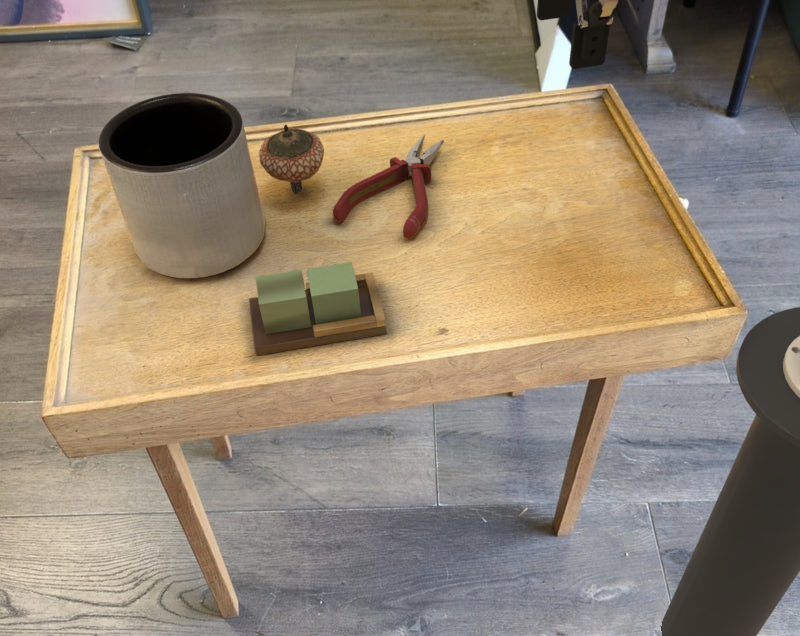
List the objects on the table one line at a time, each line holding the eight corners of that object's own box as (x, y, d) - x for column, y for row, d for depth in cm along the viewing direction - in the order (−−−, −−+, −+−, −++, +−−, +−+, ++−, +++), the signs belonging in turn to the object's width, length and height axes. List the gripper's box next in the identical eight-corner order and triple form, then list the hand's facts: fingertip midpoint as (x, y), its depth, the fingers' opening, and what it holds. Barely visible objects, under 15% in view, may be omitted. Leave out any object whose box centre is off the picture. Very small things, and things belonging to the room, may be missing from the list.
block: (311, 299, 94) (306, 268, 90) (355, 291, 94) (351, 261, 91) (316, 326, 91) (311, 296, 87) (361, 319, 91) (358, 288, 88)
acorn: (296, 166, 112) (285, 98, 105) (342, 188, 109) (334, 119, 101) (253, 196, 108) (238, 128, 101) (299, 220, 105) (288, 150, 97)
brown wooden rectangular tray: (387, 334, 91) (384, 295, 87) (256, 355, 90) (246, 318, 86) (374, 286, 96) (371, 247, 92) (250, 306, 95) (241, 267, 91)
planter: (121, 227, 106) (80, 116, 94) (239, 187, 110) (214, 76, 98) (159, 302, 96) (119, 189, 84) (287, 255, 101) (265, 142, 89)
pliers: (473, 154, 112) (473, 137, 110) (413, 244, 101) (413, 227, 99) (395, 138, 116) (394, 121, 114) (329, 223, 104) (327, 206, 102)
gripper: (682, -140, 61) (641, 80, 74) (599, -206, 72) (576, -4, 85) (583, -128, 60) (559, 92, 73) (515, -196, 71) (505, 6, 84)
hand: (568, 40), depth 79 cm, fingers open, 9 cm apart
